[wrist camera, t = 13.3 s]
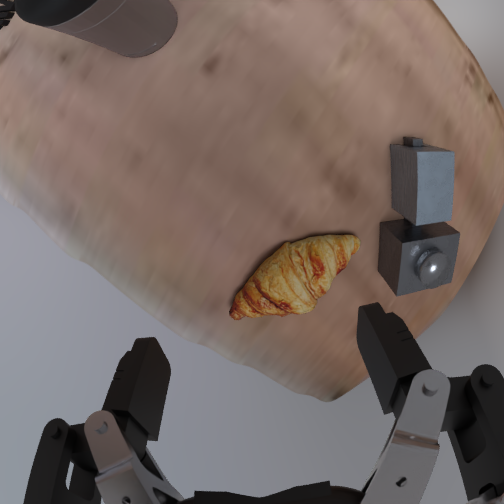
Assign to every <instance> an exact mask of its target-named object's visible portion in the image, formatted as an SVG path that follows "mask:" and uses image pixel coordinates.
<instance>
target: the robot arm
mask: <svg viewBox="0 0 504 504" xmlns="http://www.w3.org/2000/svg"><path fill="white" fill-rule="evenodd" d="M15 10H16V12H17V14H18V16H19V17H20V18H21V19H23V20H24V21H26V22H29V23H32V24H36V25H39V26H43V27H46V28H50V29H53V30H56V31H59V32H63V33H66V34H69V35H72V36H75V37H78V38H80V39H83V40H86V41H89V42H91V43H94V44H97V45H99V46H102V47H104V48H107V49H109V50H112V51H114V52H116V53H119V54H121V55H124V56H127V57H141V56H145V55H148V54H151V53H153V52H155V51H156V50H158V49H160V48H161V47H162V46H163V45H164V44H165V43H167V41H168V40H169V39H170V38H171V36H172V35H173V33H174V31H175V28H176V25H177V13H176V11H175V9H174V7H173V5H172V4H171V3H170V1H169V0H15ZM357 344H358V348H359V350H360V353H361V355H362V358H363V360H364V363H365V365H366V368H367V370H368V373H369V375H370V378H371V380H372V383H373V385H374V388H375V391H376V393H377V396H378V399H379V402H380V404H381V407H382V410H383V413H384V414H388V413H391V412H393V413H394V416H395V418H396V419H395V421H394V424H393V427H392V429H391V432H390V434H389V436H388V438H387V441H386V443H385V445H384V448H383V450H382V452H381V454H380V456H379V458H378V460H377V462H376V464H375V466H374V468H373V470H372V471H371V473H370V475H369V477H368V479H367V481H366V483H365V484H364V486H363V488H362V490H361V491H359V490H356V489H352V488H348V487H342V486H330V481H325V482H320V483H315V484H309V485H303V486H296V487H293V488H291V489H287V490H284V491H281V492H278V493H275V494H272V495H269V496H266V497H260V498H258V497H251V496H246V495H240V494H235V493H230V492H211V491H209V492H208V491H195V492H194V497H191V498H188V499H184V498H183V497H182V495H181V494H180V493H179V492H178V491H177V490H176V489H175V488H174V487H173V486H172V485H171V484H170V483H169V481H168V480H167V479H166V477H165V476H164V475H163V473H162V471H161V469H160V468H159V466H158V465H157V463H156V461H155V460H154V458H153V456H152V455H151V453H150V452H149V450H148V448H147V447H146V445H147V440H149V441H158V435H159V430H160V425H161V420H162V415H163V409H164V404H165V400H166V395H167V390H168V385H169V381H170V376H171V368H170V364H169V361H168V359H167V358H166V356H165V354H164V352H163V350H162V348H161V347H160V345H159V343H158V341H157V339H156V338H155V337H149V338H137V339H136V340H135V342H134V345H133V347H132V350H131V351H127V352H126V354H125V355H124V356H123V357H122V358H121V360H120V362H119V364H118V366H117V369H116V372H115V374H114V377H113V380H112V382H111V385H110V388H109V390H108V393H107V396H106V399H105V402H104V405H103V408H102V410H101V411H97V412H94V413H93V414H91V415H90V416H89V417H88V419H87V420H86V422H85V423H82V424H76V425H71V426H70V425H68V424H67V423H66V422H65V421H64V420H62V419H60V418H56V419H53V420H51V421H50V422H48V424H47V425H46V426H45V428H44V430H43V433H42V436H41V439H40V442H39V445H38V449H37V452H36V455H35V459H34V462H33V466H32V469H31V473H30V477H29V481H28V485H27V489H26V494H25V499H24V504H101V497H102V498H103V501H104V503H105V504H419V502H420V500H421V498H422V496H423V493H424V491H425V489H426V486H427V484H428V481H429V479H430V476H431V473H432V471H433V468H434V465H435V462H436V459H437V456H438V453H439V447H440V446H439V444H438V437H439V434H440V432H442V431H447V432H448V435H449V438H450V440H451V444H452V446H453V449H454V452H455V456H456V459H457V462H458V465H459V469H460V472H461V476H462V479H463V483H464V487H465V490H466V494H467V499H468V503H467V504H504V378H503V376H502V375H501V373H500V371H499V370H498V369H497V368H495V367H494V366H492V365H488V364H484V365H480V366H478V367H476V368H475V369H474V370H473V372H472V374H471V376H463V377H453V378H452V377H451V378H449V377H446V376H445V375H444V374H443V373H442V372H440V371H437V370H433V369H432V368H431V366H430V365H429V363H428V361H427V359H426V357H425V356H424V354H423V353H422V351H421V349H420V347H419V346H418V344H417V342H416V340H415V339H413V335H412V334H411V332H410V331H409V330H408V327H407V326H406V324H405V323H404V321H403V319H401V318H400V317H399V316H397V315H396V314H394V313H393V312H391V313H387V314H386V313H385V312H384V310H383V308H382V307H381V305H380V304H379V303H378V302H376V303H372V304H368V305H363V306H360V307H359V310H358V323H357ZM70 461H71V462H72V463H73V464H74V467H73V472H72V476H71V481H70V486H69V490H68V489H67V487H66V477H67V473H68V468H69V464H70Z"/></svg>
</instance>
